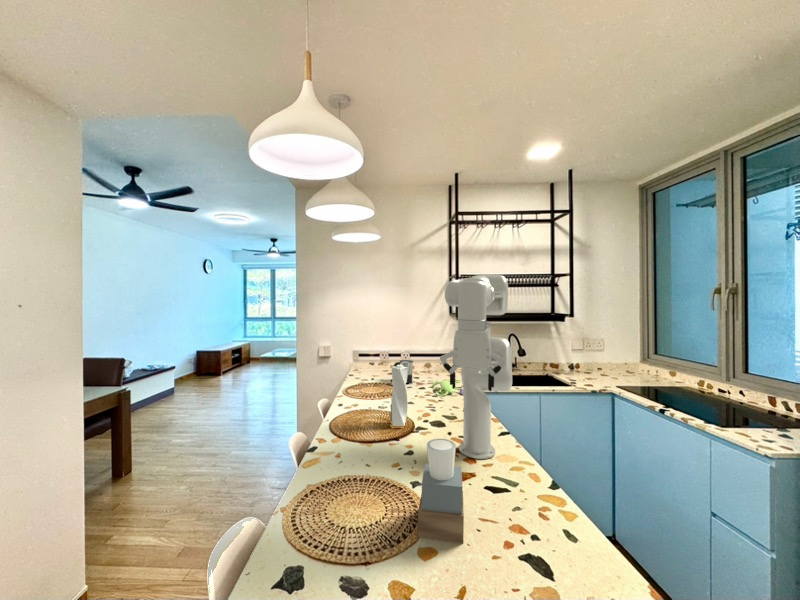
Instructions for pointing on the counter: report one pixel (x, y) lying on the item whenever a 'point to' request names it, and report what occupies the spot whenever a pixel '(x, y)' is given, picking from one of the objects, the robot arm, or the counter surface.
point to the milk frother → (409, 377)
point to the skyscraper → (399, 395)
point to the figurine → (447, 387)
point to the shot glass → (441, 458)
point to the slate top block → (442, 492)
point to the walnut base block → (440, 525)
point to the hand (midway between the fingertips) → (471, 388)
